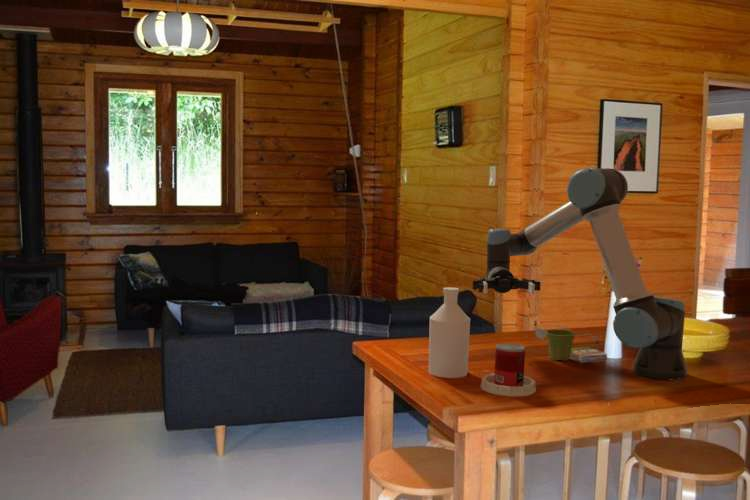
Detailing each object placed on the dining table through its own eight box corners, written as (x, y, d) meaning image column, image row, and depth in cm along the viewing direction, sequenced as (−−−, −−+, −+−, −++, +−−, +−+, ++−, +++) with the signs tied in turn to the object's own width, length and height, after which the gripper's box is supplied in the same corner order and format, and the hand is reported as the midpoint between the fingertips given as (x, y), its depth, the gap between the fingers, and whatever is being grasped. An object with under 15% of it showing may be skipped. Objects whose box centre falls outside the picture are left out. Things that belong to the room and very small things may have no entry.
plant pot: (561, 363, 242) (562, 336, 241) (538, 357, 249) (539, 330, 249) (580, 360, 247) (582, 333, 247) (557, 353, 255) (559, 327, 254)
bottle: (461, 367, 235) (465, 285, 232) (473, 377, 223) (476, 291, 220) (423, 367, 233) (426, 285, 230) (433, 378, 221) (436, 291, 218)
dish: (539, 384, 218) (539, 376, 217) (532, 399, 203) (532, 390, 203) (485, 378, 222) (486, 370, 222) (475, 392, 208) (476, 384, 208)
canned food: (523, 390, 208) (525, 350, 207) (493, 388, 210) (494, 348, 209) (523, 383, 216) (525, 344, 215) (494, 380, 217) (496, 342, 216)
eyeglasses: (532, 337, 281) (533, 326, 281) (571, 333, 290) (571, 323, 289) (561, 346, 268) (562, 335, 267) (600, 342, 276) (601, 331, 276)
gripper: (540, 292, 247) (552, 302, 226) (461, 291, 248) (466, 301, 227) (541, 268, 246) (553, 276, 225) (462, 267, 247) (466, 275, 226)
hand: (509, 289), depth 226 cm, fingers open, 13 cm apart
